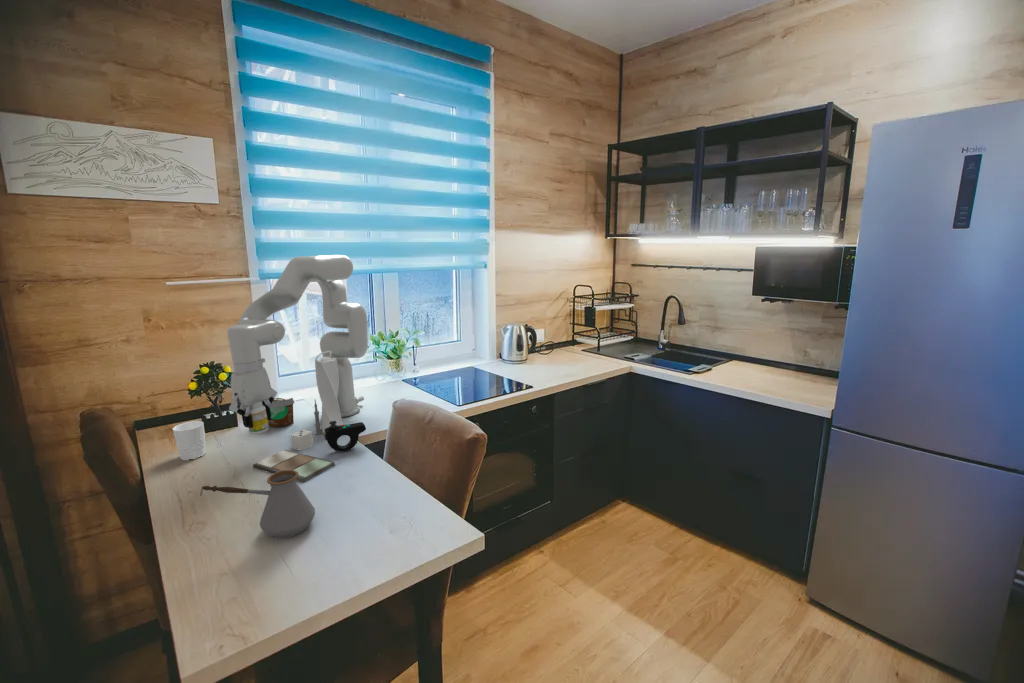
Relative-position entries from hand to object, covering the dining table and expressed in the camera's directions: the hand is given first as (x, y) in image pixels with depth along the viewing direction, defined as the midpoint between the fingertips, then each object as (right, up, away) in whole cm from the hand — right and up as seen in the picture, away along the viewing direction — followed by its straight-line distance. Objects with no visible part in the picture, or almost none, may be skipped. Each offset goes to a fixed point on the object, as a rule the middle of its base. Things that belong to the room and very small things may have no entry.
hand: (258, 422), depth 143 cm
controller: (+25, -10, +5) cm, 28 cm away
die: (+10, -9, +9) cm, 16 cm away
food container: (-8, -6, +27) cm, 29 cm away
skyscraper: (+14, -7, +22) cm, 27 cm away
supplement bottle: (0, -3, +1) cm, 3 cm away
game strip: (+13, -12, -5) cm, 19 cm away
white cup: (-22, -11, +3) cm, 25 cm away
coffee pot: (+22, -19, -38) cm, 48 cm away
